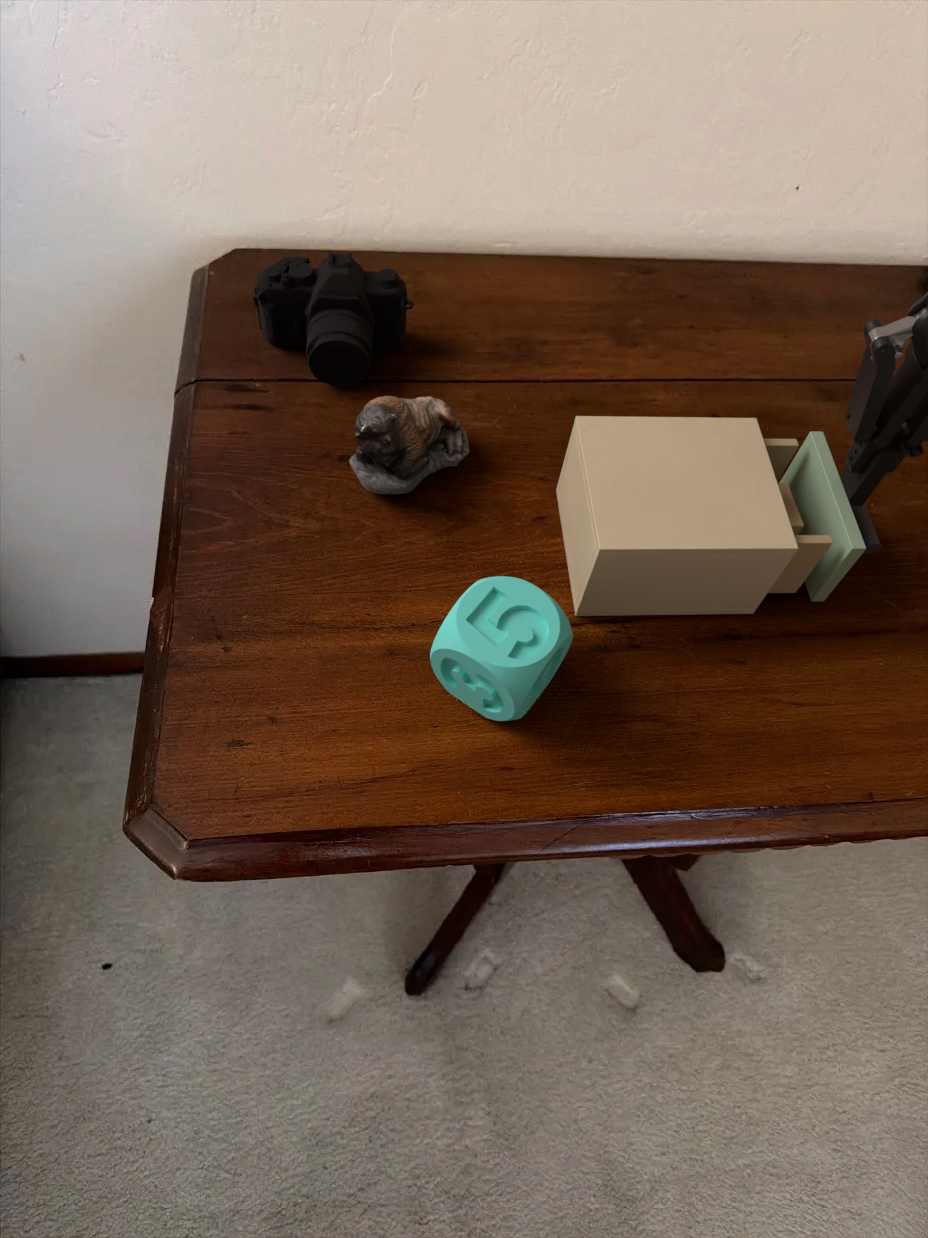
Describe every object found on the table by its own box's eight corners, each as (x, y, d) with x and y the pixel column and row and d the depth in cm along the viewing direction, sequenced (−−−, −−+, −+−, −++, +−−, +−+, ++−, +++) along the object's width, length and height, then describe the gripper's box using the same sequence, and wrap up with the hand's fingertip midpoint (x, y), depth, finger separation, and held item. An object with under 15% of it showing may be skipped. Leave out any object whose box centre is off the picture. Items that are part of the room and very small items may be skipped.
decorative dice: (482, 613, 73) (493, 557, 67) (563, 665, 71) (583, 613, 65) (425, 681, 70) (431, 629, 63) (509, 737, 68) (524, 690, 61)
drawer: (828, 489, 83) (867, 431, 76) (868, 601, 76) (914, 548, 70) (636, 489, 81) (659, 429, 74) (660, 603, 74) (688, 549, 68)
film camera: (253, 386, 84) (241, 310, 77) (262, 318, 89) (251, 240, 82) (411, 393, 86) (415, 318, 78) (411, 325, 91) (415, 249, 83)
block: (718, 518, 78) (736, 484, 74) (767, 515, 79) (787, 482, 75) (732, 560, 76) (751, 528, 72) (782, 557, 76) (804, 525, 73)
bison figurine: (430, 417, 84) (436, 334, 76) (483, 459, 82) (496, 378, 74) (336, 483, 79) (331, 401, 71) (390, 529, 77) (392, 451, 68)
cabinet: (719, 490, 83) (756, 417, 74) (753, 614, 76) (798, 548, 67) (555, 490, 81) (575, 415, 73) (575, 616, 74) (599, 549, 66)
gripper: (949, 278, 50) (785, 529, 70) (1156, 285, 52) (938, 529, 72) (906, 199, 54) (762, 458, 74) (1100, 206, 56) (907, 459, 76)
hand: (849, 492), depth 73 cm, fingers closed
